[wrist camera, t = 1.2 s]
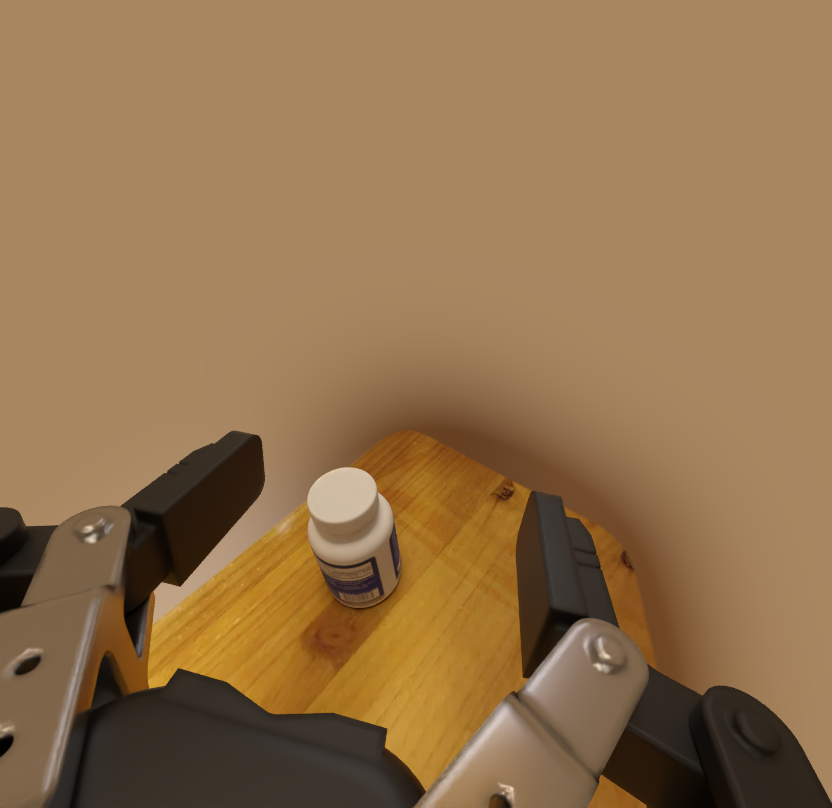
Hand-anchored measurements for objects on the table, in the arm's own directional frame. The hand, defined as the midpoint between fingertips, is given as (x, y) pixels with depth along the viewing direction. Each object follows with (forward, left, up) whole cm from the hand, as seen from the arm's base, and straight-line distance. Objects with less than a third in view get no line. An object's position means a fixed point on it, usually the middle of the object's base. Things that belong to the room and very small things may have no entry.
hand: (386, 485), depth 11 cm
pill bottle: (+7, -2, -17) cm, 19 cm away
